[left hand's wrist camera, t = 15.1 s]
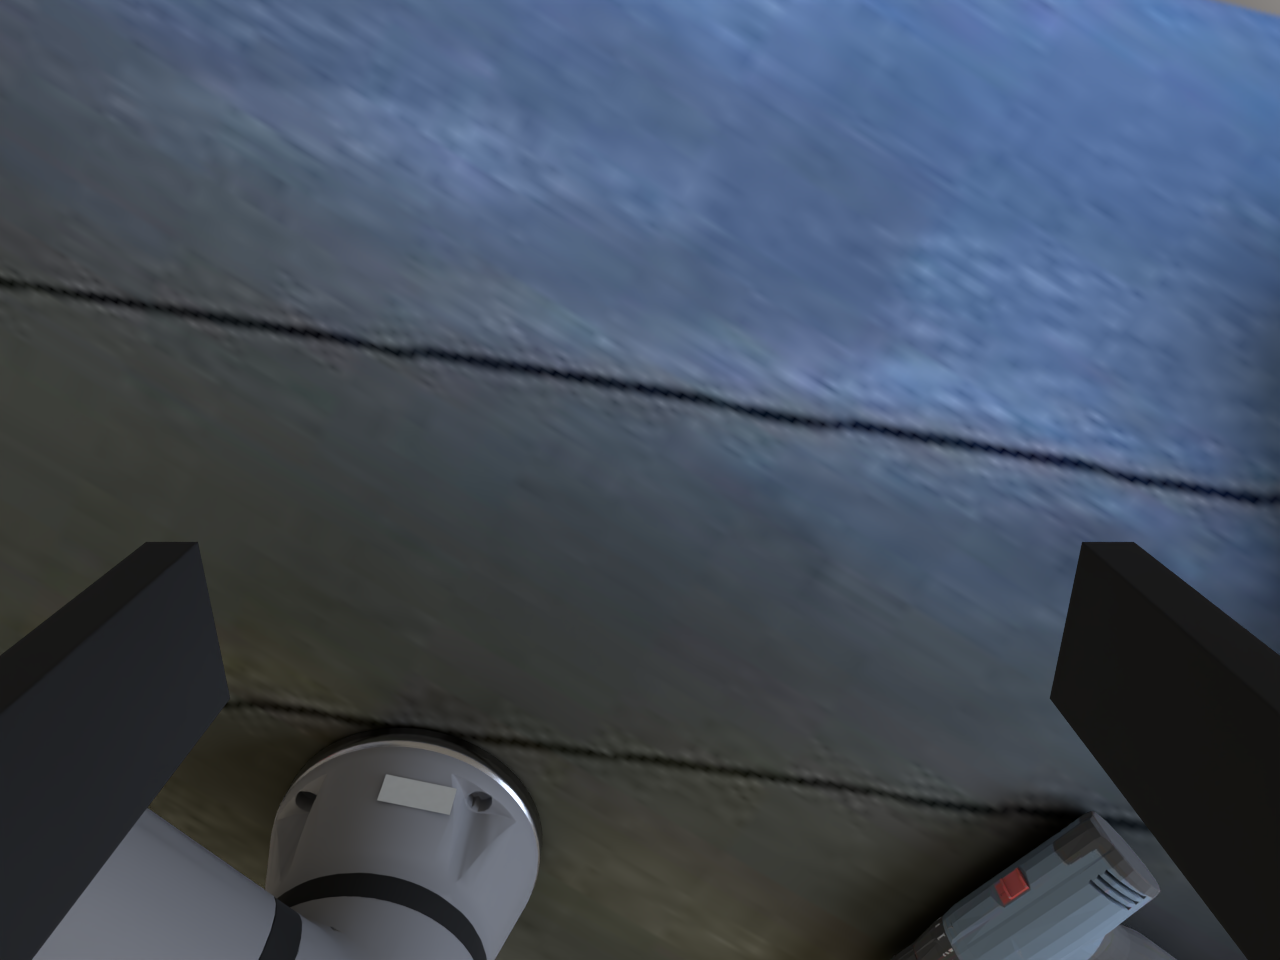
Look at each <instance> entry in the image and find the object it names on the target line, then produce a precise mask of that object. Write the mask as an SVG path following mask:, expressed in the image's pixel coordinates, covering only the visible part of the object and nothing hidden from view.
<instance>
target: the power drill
mask: <svg viewBox="0 0 1280 960" xmlns="http://www.w3.org/2000/svg"><path fill="white" fill-rule="evenodd" d="M1159 892H1160V888H1159V885H1158V883H1157V882H1156V880H1155V878H1154V877H1153V876H1152V874H1151V873H1150V872H1149V870H1148V869H1147V867H1146V866H1145V864H1144V863H1143V862H1142V861H1141V859H1140V858H1139V857H1138V856H1137V854H1136V853H1135V852H1134V851H1133V850H1132V849H1131V847H1130V846H1129V845H1128V844H1127V843H1126V842H1125V840H1124V839H1123V838H1122V837H1121V836H1120V835H1119V834H1118V833H1117V832H1116V831H1115V830H1114V829H1113V828H1112V827H1111V826H1110V825H1109V824H1108V822H1106V821H1105V820H1104V819H1103V818H1102V817H1101V816H1099V815H1098V814H1097V813H1096V812H1094V811H1090V812H1088V813H1086V814H1084V815H1082V816H1081V817H1079V818H1078V819H1077V820H1075V821H1074V822H1073V823H1071V824H1069V825H1068V826H1067V827H1066V828H1064V829H1062V830H1061V832H1059V833H1057V834H1055V835H1054V836H1052V837H1051V838H1050V839H1048V840H1047V841H1045V842H1044V843H1042V844H1041V845H1039V846H1038V847H1037V848H1035V849H1034V850H1032V851H1031V852H1029V853H1028V854H1027V855H1025V856H1024V857H1022V858H1021V859H1019V860H1018V861H1016V862H1015V863H1014V864H1012V865H1011V866H1009V867H1008V868H1006V869H1005V870H1003V871H1002V872H1001V873H999V874H998V875H996V876H995V877H993V878H992V879H991V880H989V881H988V882H986V883H985V884H983V885H982V886H980V887H979V888H978V889H976V890H975V891H973V892H972V893H970V894H969V895H967V896H966V897H965V898H963V899H962V900H960V901H959V902H957V903H956V904H955V905H953V906H952V907H951V908H950V909H949V910H948V911H947V912H946V913H945V914H944V915H943V916H942V917H940V918H939V919H937V920H936V921H935V922H934V923H933V924H932V925H931V926H930V927H929V928H928V929H927V930H926V931H925V932H924V933H923V934H922V935H921V936H920V937H919V938H918V939H917V940H916V941H915V942H914V943H912V944H911V945H909V946H908V947H906V948H905V949H904V950H902V951H901V952H899V953H898V954H896V955H893V957H892V958H891V959H890V960H1177V959H1175V958H1174V957H1173V956H1171V955H1170V954H1169V953H1167V952H1166V951H1164V950H1163V949H1162V948H1160V947H1159V946H1157V945H1156V944H1155V943H1153V942H1152V941H1150V940H1149V939H1148V938H1146V937H1145V936H1143V935H1142V934H1141V933H1139V932H1137V931H1136V930H1134V929H1131V928H1129V927H1126V926H1123V925H1121V924H1120V923H1122V922H1123V921H1124V920H1125V919H1127V918H1128V917H1129V916H1131V915H1132V914H1133V913H1135V912H1136V911H1137V910H1139V909H1140V908H1142V907H1143V906H1144V905H1146V904H1147V903H1148V902H1150V901H1151V900H1152V899H1154V898H1155V897H1156V896H1157V895H1158V894H1159Z"/></svg>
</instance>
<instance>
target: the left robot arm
mask: <svg viewBox="0 0 1280 960" xmlns="http://www.w3.org/2000/svg"><path fill="white" fill-rule="evenodd" d="M229 699H230V696H229V691H228V686H227V681H226V676H225V671H224V666H223V662H222V657H221V652H220V647H219V642H218V637H217V633H216V628H215V623H214V618H213V613H212V608H211V604H210V599H209V594H208V589H207V584H206V579H205V575H204V570H203V565H202V560H201V555H200V550H199V545H198V542H146V543H144V544H143V545H142V546H141V547H139V548H138V549H137V550H135V551H134V552H133V553H132V554H130V555H129V556H128V557H126V558H125V559H124V560H123V561H121V562H120V563H119V564H117V565H116V566H115V567H114V568H112V569H111V570H110V571H108V572H107V573H106V574H105V575H103V576H102V577H101V578H99V579H98V580H97V581H96V582H94V583H93V584H92V585H90V586H89V587H88V588H87V589H85V590H84V591H83V592H81V593H80V594H79V595H78V596H76V597H75V598H74V599H73V600H71V601H70V602H69V603H67V604H66V605H65V606H64V607H62V608H61V609H60V610H58V611H57V612H56V613H55V614H53V615H52V616H51V617H49V618H48V619H47V620H46V621H44V622H43V623H42V624H40V625H39V626H38V627H37V628H35V629H34V630H33V631H31V632H30V633H29V634H28V635H26V636H25V637H24V638H22V639H21V640H20V641H19V642H17V643H16V644H15V645H13V646H12V647H11V648H10V649H8V650H7V651H6V652H4V653H3V654H2V655H1V656H0V960H495V958H496V956H497V955H498V953H499V951H500V949H501V948H502V946H503V944H504V942H505V941H506V939H507V937H508V935H509V934H510V932H511V930H512V928H513V927H514V925H515V923H516V922H517V920H518V918H519V916H520V915H521V913H522V911H523V909H524V908H525V906H526V904H527V902H528V900H529V898H530V895H531V893H532V891H533V888H534V886H535V883H536V880H537V876H538V870H539V863H540V856H541V849H542V828H541V822H540V818H539V814H538V812H537V809H536V806H535V804H534V802H533V800H532V798H531V796H530V794H529V793H528V791H527V790H526V788H525V787H524V785H523V784H522V783H521V781H520V780H519V779H518V778H517V777H516V775H515V774H514V773H513V772H512V771H511V770H510V769H509V768H507V767H506V766H505V765H504V764H503V763H502V762H500V761H499V760H498V759H496V758H495V757H494V756H492V755H491V754H489V753H488V752H486V751H484V750H482V749H481V748H479V747H477V746H475V745H473V744H471V743H469V742H467V741H464V740H462V739H459V738H456V737H454V736H450V735H447V734H443V733H440V732H435V731H430V730H423V729H415V728H385V729H377V730H371V731H366V732H362V733H358V734H355V735H352V736H349V737H346V738H344V739H342V740H339V741H337V742H335V743H333V744H331V745H329V746H328V747H326V748H325V749H323V750H322V751H320V752H319V753H317V754H316V755H315V756H314V757H313V758H311V759H310V760H309V761H308V762H307V763H306V764H305V765H304V766H303V768H302V769H301V770H300V771H299V773H298V774H297V775H296V777H295V779H294V780H293V782H292V784H291V786H290V788H289V789H288V791H287V793H286V795H285V797H284V798H283V800H282V802H281V804H280V806H279V808H278V811H277V813H276V817H275V821H274V825H273V829H272V833H271V840H270V849H269V858H268V867H267V876H266V885H265V889H263V888H262V887H260V886H259V885H257V884H256V883H255V882H253V881H252V880H250V879H249V878H247V877H246V876H244V875H243V874H242V873H240V872H239V871H237V870H236V869H234V868H233V867H232V866H230V865H229V864H227V863H226V862H224V861H223V860H222V859H220V858H219V857H217V856H216V855H214V854H213V853H212V852H210V851H209V850H207V849H206V848H204V847H203V846H202V845H200V844H199V843H197V842H196V841H194V840H193V839H191V838H190V837H189V836H187V835H186V834H184V833H183V832H181V831H180V830H179V829H177V828H176V827H174V826H173V825H171V824H170V823H169V822H167V821H166V820H164V819H163V818H161V817H160V816H159V815H157V814H156V813H154V812H153V811H151V810H150V809H149V808H147V807H148V806H149V805H150V803H151V802H152V801H153V799H154V798H155V797H156V796H157V794H158V793H159V792H160V790H161V789H162V788H163V786H164V785H165V784H166V782H167V781H168V780H169V778H170V777H171V776H172V774H173V773H174V772H175V770H176V769H177V768H178V766H179V765H180V764H181V763H182V761H183V760H184V759H185V757H186V756H187V755H188V753H189V752H190V751H191V749H192V748H193V747H194V745H195V744H196V743H197V741H198V740H199V739H200V737H201V736H202V735H203V733H204V732H205V731H206V730H207V728H208V727H209V726H210V724H211V723H212V722H213V720H214V719H215V718H216V716H217V715H218V714H219V712H220V711H221V710H222V708H223V707H224V706H225V704H226V703H227V702H228V701H229ZM1050 699H1051V701H1052V702H1053V703H1054V704H1055V706H1056V707H1057V708H1058V710H1059V711H1060V712H1061V714H1062V715H1063V716H1064V718H1065V719H1066V720H1067V722H1068V723H1069V724H1070V726H1071V727H1072V728H1073V730H1074V731H1075V732H1076V734H1077V735H1078V736H1079V737H1080V739H1081V740H1082V741H1083V743H1084V744H1085V745H1086V747H1087V748H1088V749H1089V751H1090V752H1091V753H1092V755H1093V756H1094V757H1095V759H1096V760H1097V761H1098V763H1099V764H1100V765H1101V766H1102V768H1103V769H1104V770H1105V772H1106V773H1107V774H1108V776H1109V777H1110V778H1111V780H1112V781H1113V782H1114V784H1115V785H1116V786H1117V788H1118V789H1119V790H1120V792H1121V793H1122V794H1123V796H1124V797H1125V798H1126V799H1127V801H1128V802H1129V803H1130V805H1131V806H1132V807H1133V809H1134V810H1135V811H1136V813H1137V814H1138V815H1139V817H1140V818H1141V819H1142V821H1143V822H1144V823H1145V825H1146V826H1147V827H1148V829H1149V830H1150V831H1151V832H1152V834H1153V835H1154V836H1155V838H1156V839H1157V840H1158V842H1159V843H1160V844H1161V846H1162V847H1163V848H1164V850H1165V851H1166V852H1167V854H1168V855H1169V856H1170V858H1171V859H1172V860H1173V861H1174V863H1175V864H1176V865H1177V867H1178V868H1179V869H1180V871H1181V872H1182V873H1183V875H1184V876H1185V877H1186V879H1187V880H1188V881H1189V883H1190V884H1191V885H1192V887H1193V888H1194V889H1195V891H1196V892H1197V893H1198V894H1199V896H1200V897H1201V898H1202V900H1203V901H1204V902H1205V904H1206V905H1207V906H1208V908H1209V909H1210V910H1211V912H1212V913H1213V914H1214V916H1215V917H1216V918H1217V920H1218V921H1219V922H1220V924H1221V925H1222V926H1223V927H1224V929H1225V930H1226V931H1227V933H1228V934H1229V935H1230V937H1231V938H1232V939H1233V941H1234V942H1235V943H1236V945H1237V946H1238V947H1239V949H1240V950H1241V951H1242V953H1243V954H1244V955H1245V956H1246V958H1247V959H1248V960H1280V656H1279V655H1278V654H1277V653H1276V652H1274V651H1273V650H1272V649H1270V648H1269V647H1268V646H1267V645H1265V644H1264V643H1263V642H1261V641H1260V640H1259V639H1258V638H1256V637H1255V636H1254V635H1252V634H1251V633H1250V632H1249V631H1247V630H1246V629H1245V628H1243V627H1242V626H1241V625H1240V624H1238V623H1237V622H1236V621H1234V620H1233V619H1232V618H1231V617H1229V616H1228V615H1227V614H1225V613H1224V612H1223V611H1222V610H1220V609H1219V608H1218V607H1216V606H1215V605H1214V604H1213V603H1211V602H1210V601H1209V600H1207V599H1206V598H1205V597H1204V596H1202V595H1201V594H1200V593H1199V592H1197V591H1196V590H1195V589H1193V588H1192V587H1191V586H1190V585H1188V584H1187V583H1186V582H1184V581H1183V580H1182V579H1181V578H1179V577H1178V576H1177V575H1175V574H1174V573H1173V572H1172V571H1170V570H1169V569H1168V568H1166V567H1165V566H1164V565H1163V564H1161V563H1160V562H1159V561H1157V560H1156V559H1155V558H1154V557H1152V556H1151V555H1150V554H1148V553H1147V552H1146V551H1145V550H1143V549H1142V548H1141V547H1139V546H1138V545H1137V544H1136V543H1134V542H1082V545H1081V550H1080V555H1079V560H1078V565H1077V570H1076V575H1075V579H1074V584H1073V589H1072V594H1071V599H1070V604H1069V608H1068V613H1067V618H1066V623H1065V628H1064V633H1063V637H1062V642H1061V647H1060V652H1059V657H1058V662H1057V666H1056V671H1055V676H1054V681H1053V686H1052V691H1051V696H1050Z"/></svg>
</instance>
